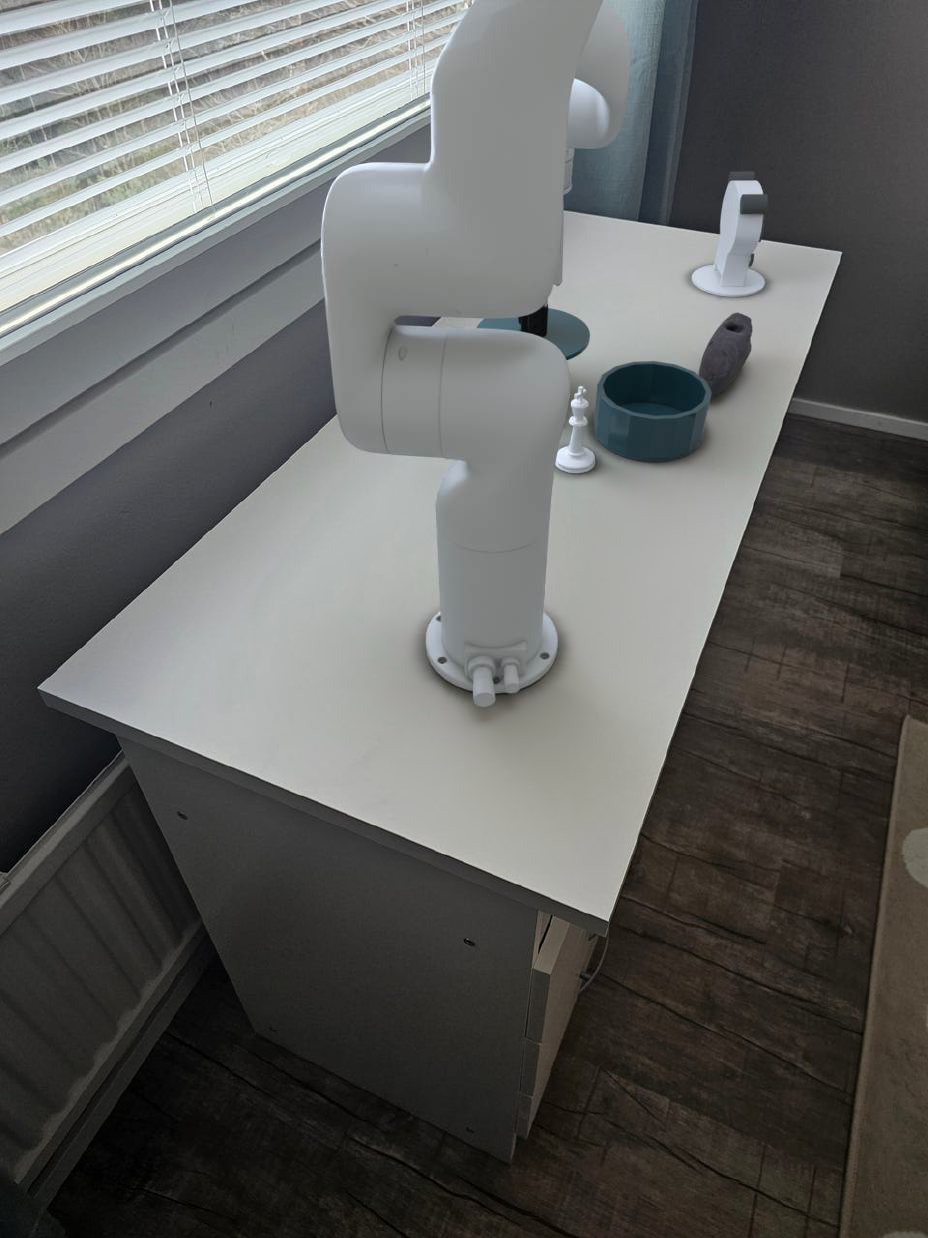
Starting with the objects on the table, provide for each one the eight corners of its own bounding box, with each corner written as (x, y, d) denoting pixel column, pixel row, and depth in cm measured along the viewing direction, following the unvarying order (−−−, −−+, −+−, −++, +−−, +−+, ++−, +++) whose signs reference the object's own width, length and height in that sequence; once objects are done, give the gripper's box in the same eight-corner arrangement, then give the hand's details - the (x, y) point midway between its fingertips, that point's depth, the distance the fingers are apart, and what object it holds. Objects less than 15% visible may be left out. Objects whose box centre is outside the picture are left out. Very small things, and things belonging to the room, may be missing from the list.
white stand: (772, 298, 137) (796, 197, 127) (698, 298, 138) (716, 197, 127) (756, 265, 146) (777, 168, 135) (686, 266, 146) (702, 168, 136)
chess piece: (603, 460, 107) (611, 386, 100) (578, 478, 104) (585, 403, 97) (571, 445, 109) (577, 371, 102) (545, 462, 107) (550, 388, 100)
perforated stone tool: (719, 412, 114) (729, 363, 109) (680, 402, 116) (688, 353, 111) (753, 361, 123) (764, 314, 118) (716, 353, 125) (725, 305, 120)
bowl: (713, 459, 107) (723, 416, 102) (602, 464, 106) (607, 420, 102) (688, 401, 116) (696, 359, 112) (586, 405, 116) (590, 362, 112)
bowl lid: (597, 368, 107) (602, 319, 103) (478, 372, 107) (477, 323, 102) (580, 313, 117) (584, 266, 113) (472, 317, 117) (471, 270, 113)
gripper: (582, 198, 92) (570, 360, 105) (563, 147, 104) (554, 299, 117) (510, 201, 92) (507, 363, 105) (499, 149, 104) (497, 301, 117)
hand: (532, 328), depth 111 cm, fingers closed on bowl lid, 2 cm apart
